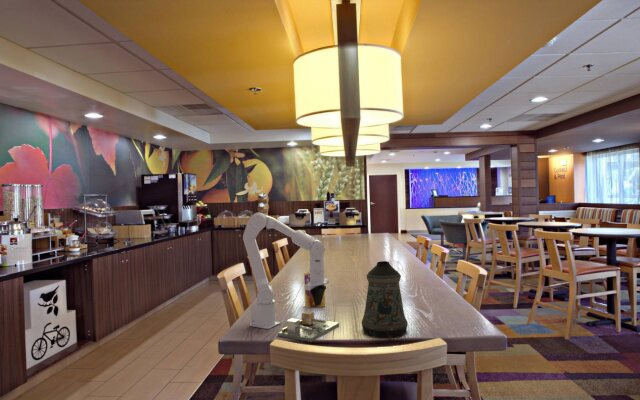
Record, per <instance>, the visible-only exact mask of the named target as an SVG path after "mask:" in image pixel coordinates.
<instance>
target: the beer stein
mask: <svg viewBox="0 0 640 400" xmlns="http://www.w3.org/2000/svg"><path fill="white" fill-rule="evenodd" d="M401 278H402V275H401V274H400V272H399V271H397V270H396V269H395V268H394V267H393V266H392V265H391V263H390V261H386V260H382V261H377V262H376V265H375V266H373V267H372V269H371V270H369V271H368V273H367V274H366V280H367V284H368V286H367V294H366V299H365V301H366V302H365V307H364V313H363V317H362V319H361V327H362V328H361V329H362V332H363V333H364V335H366V336H368V337H371V338H376V339H385V340H387V339H389V340H390V339H396V338H400V337H403V336H405V335H406V334H407V329H408V324H409V323H408V320H407V318H406V315H405V310H404V305H403V300H402V299H403V298H402V291H401V287H400V281H401Z"/></svg>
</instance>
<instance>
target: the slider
mask: <svg viewBox="0 0 640 400" xmlns="http://www.w3.org/2000/svg"><path fill="white" fill-rule="evenodd" d="M317 319H318V318H315V312H314V311H307V310H306V311H303V312H301V320H302V324H308V325H310V324H312V323H314V321H316V322H322V323H325V322H326V321H327V320H325V321H324V319H319V320H317Z"/></svg>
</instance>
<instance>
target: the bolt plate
mask: <svg viewBox="0 0 640 400" xmlns="http://www.w3.org/2000/svg"><path fill="white" fill-rule="evenodd" d="M316 319H317V320H320V319H318V318H316ZM299 320H300V326H303V327H309V328H312V330H306V329H300V331H298V332H296V333H292V332H287V326H286V327H283V328H281V331H279V332H277V336H278V337H283V338H287V339H291V340H292V339H293V340H296V341H297V340H298V341H302V342H308V343H312V342H314V341H315V340H317V339H319V338H320V337H322V336H324V335H326V334H328V333H330V332H331V331H333V330H334V329H336V328H338V327H340V322H337V321H331V320H324V319H323V320H324V321H326V322H325V323H322V322H316V321H314V323H312V324H310V325H308V324H302V319H299Z"/></svg>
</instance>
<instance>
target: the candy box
mask: <svg viewBox="0 0 640 400" xmlns="http://www.w3.org/2000/svg"><path fill="white" fill-rule="evenodd" d="M303 280H304V286H305V285H306V284H308V283H309V282H310V271H308V272H303ZM323 286H325V285H323ZM325 293H326V292H324V294H323V298H322V302H321V305H315V303H314V299H313V296H312V294H311V292H310V290H305V289H304V301H305V302H304V306H305V307H306V309H311V308H321V307H326V296H325V295H326V294H325Z"/></svg>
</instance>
